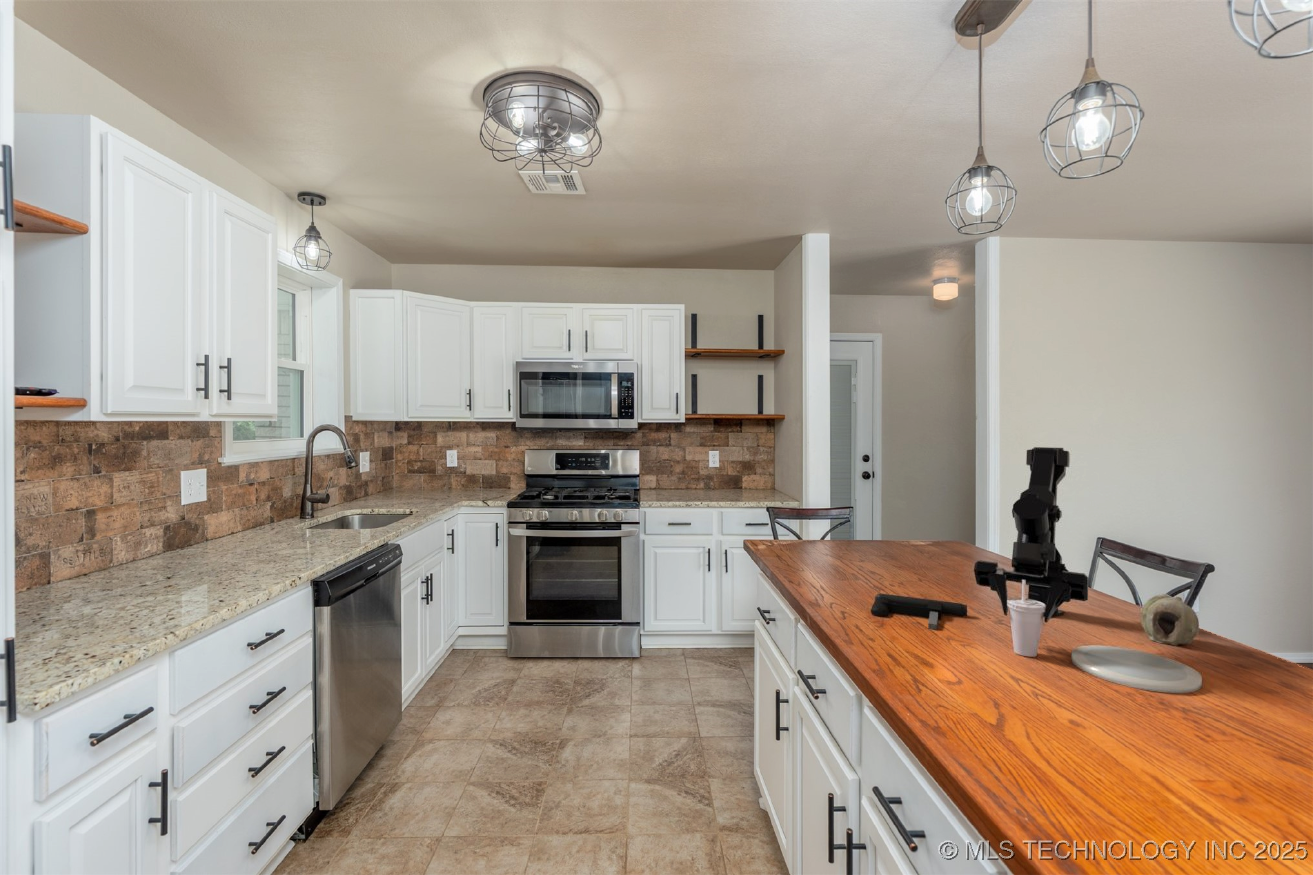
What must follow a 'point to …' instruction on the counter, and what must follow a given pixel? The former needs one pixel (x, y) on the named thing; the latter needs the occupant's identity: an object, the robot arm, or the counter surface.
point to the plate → (1137, 669)
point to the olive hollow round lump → (1169, 620)
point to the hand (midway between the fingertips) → (1025, 617)
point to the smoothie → (1026, 623)
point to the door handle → (916, 608)
